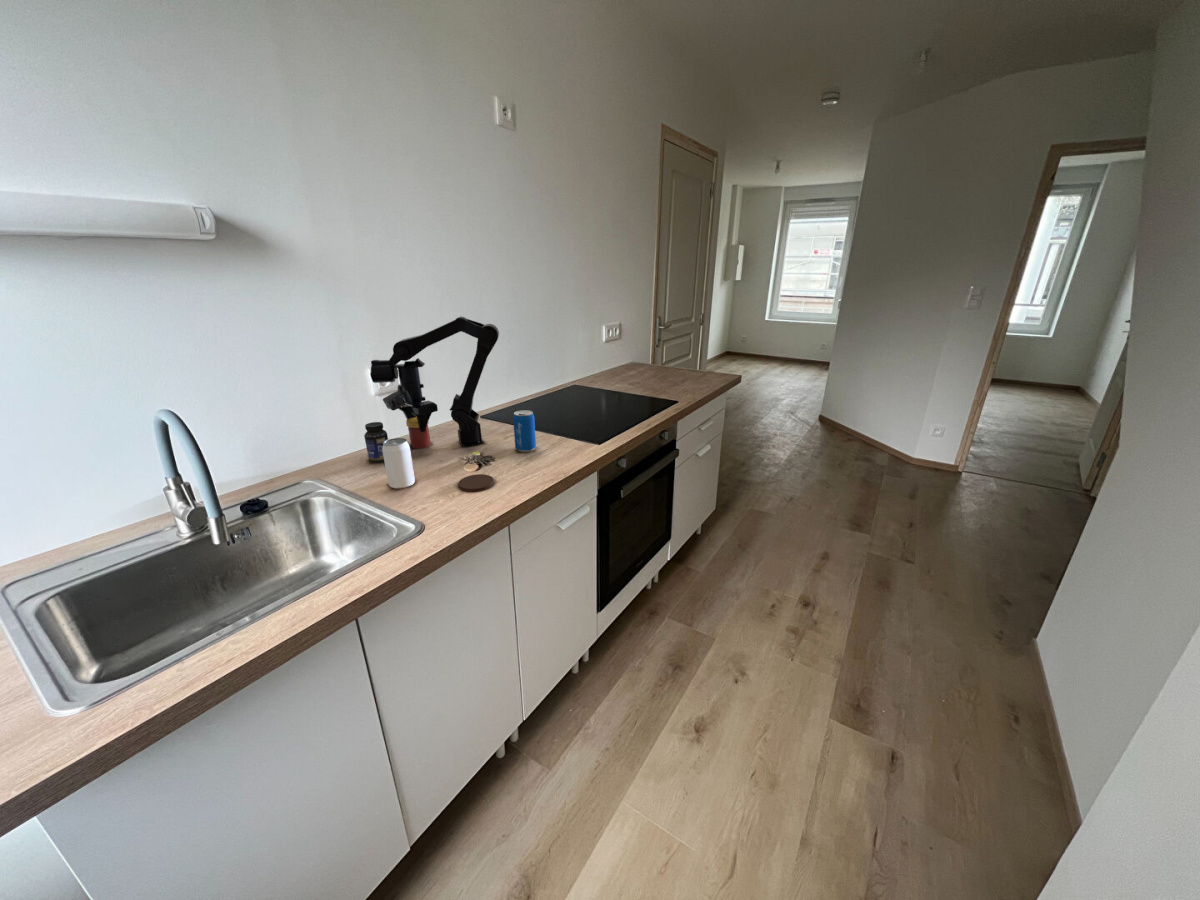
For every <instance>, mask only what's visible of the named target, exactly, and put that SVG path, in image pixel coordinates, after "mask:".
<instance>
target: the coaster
mask: <svg viewBox="0 0 1200 900" xmlns="http://www.w3.org/2000/svg"><path fill="white" fill-rule="evenodd" d="M494 479H495V478H494V477H492V476H491V475H489V474H484V473H478V474H471V475H467V476H465V477H462V478H461V479H460V480H459V481H458V484H457V485H458V488H459V489H460V490H461V491H465V492H470V493H471V492H472V493H473V492H480V491H485V490H487V489H490V488H491V487H492V486H493V485H494V484H495V480H494Z"/></svg>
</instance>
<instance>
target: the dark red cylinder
mask: <svg viewBox="0 0 1200 900" xmlns="http://www.w3.org/2000/svg"><path fill="white" fill-rule="evenodd" d="M407 430H408V431H407V432H408V435H409V442H410V448H412V449H416V450H417V449H425V448H429V447H430V446H431V445H432V443H431V437H430V429H429V424H428V425H427V426H426V429H425V431H424V432H421V431H420V428H419V427H418V428H410V427H407Z"/></svg>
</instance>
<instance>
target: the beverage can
mask: <svg viewBox="0 0 1200 900" xmlns="http://www.w3.org/2000/svg"><path fill="white" fill-rule="evenodd" d="M512 420H513V434H514V448H515V449H516V450H517V451H518V452H521V453H528V452H533V451H534V449H536V448H537V441H536V422H535V415H534V413H533V411H532V410H529V409H526V410H525V409H523V410H522V409H521V410H517V411H515V412H514V413H513V416H512Z"/></svg>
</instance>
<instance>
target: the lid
mask: <svg viewBox="0 0 1200 900" xmlns="http://www.w3.org/2000/svg"><path fill="white" fill-rule="evenodd" d="M429 423H430V422H429V421H428V423H427V425H428V426H429ZM405 424H406V427H407V428H408V427H410V428H418V427H419V424H418V421H417V417H414V418H410V419H408V420H407V419H406V420H405Z"/></svg>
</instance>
